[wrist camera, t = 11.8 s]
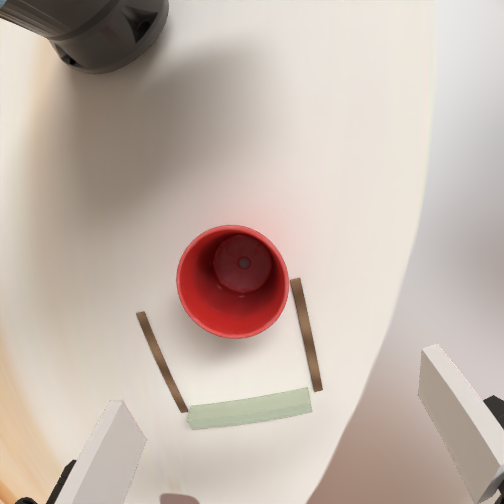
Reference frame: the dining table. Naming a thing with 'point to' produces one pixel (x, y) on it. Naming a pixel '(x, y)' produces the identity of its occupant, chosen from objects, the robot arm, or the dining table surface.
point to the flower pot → (232, 282)
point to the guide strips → (305, 331)
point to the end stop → (250, 410)
